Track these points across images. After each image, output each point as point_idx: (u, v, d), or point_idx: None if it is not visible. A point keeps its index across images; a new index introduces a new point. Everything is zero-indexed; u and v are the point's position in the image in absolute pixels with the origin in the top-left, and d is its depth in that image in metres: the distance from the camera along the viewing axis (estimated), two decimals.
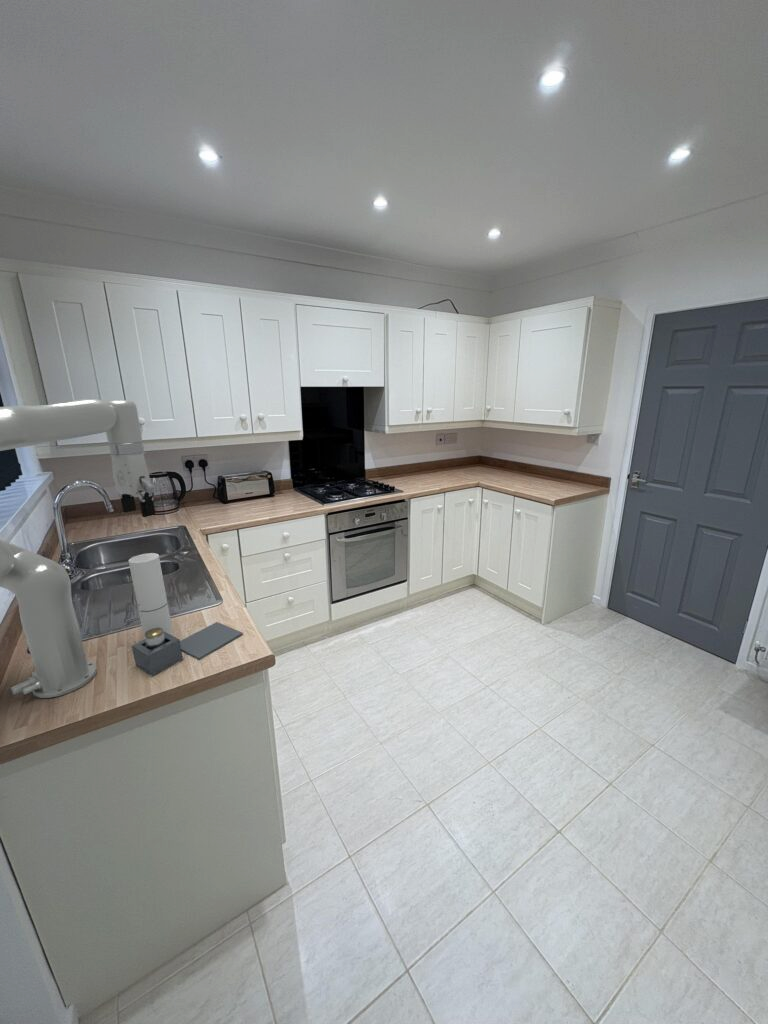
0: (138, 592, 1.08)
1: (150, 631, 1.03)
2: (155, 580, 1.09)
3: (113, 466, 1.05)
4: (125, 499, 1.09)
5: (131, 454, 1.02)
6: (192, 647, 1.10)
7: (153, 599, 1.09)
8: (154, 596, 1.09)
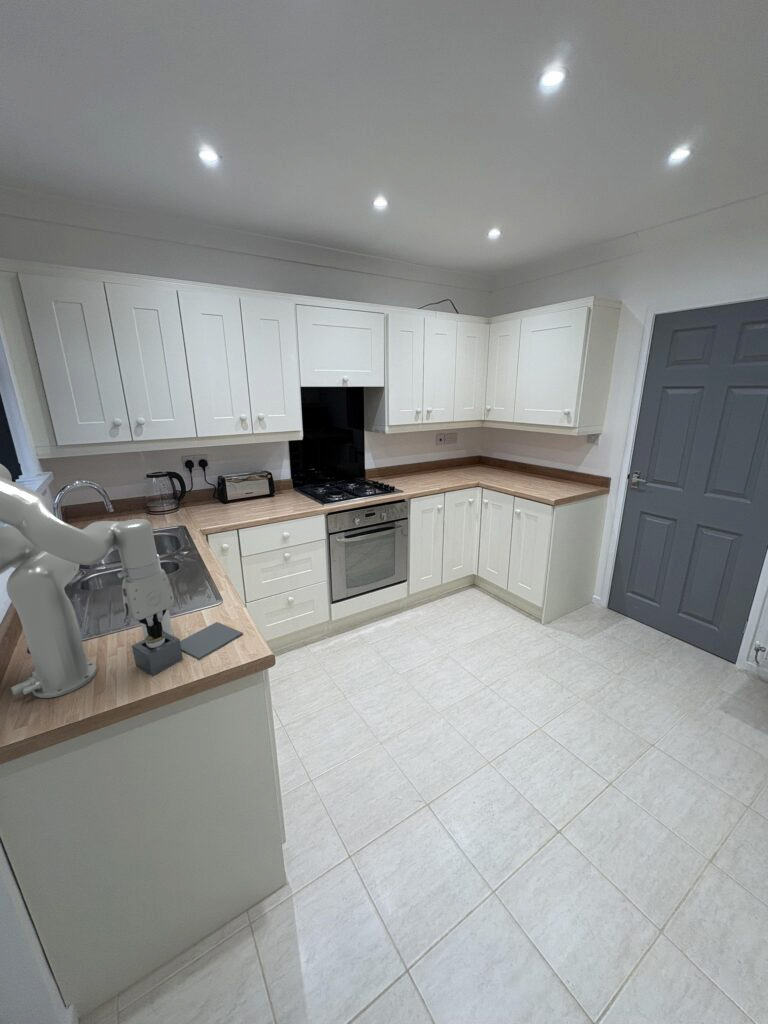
0: None
1: None
2: None
3: (137, 593, 0.95)
4: None
5: (159, 568, 1.01)
6: (192, 647, 1.10)
7: None
8: None
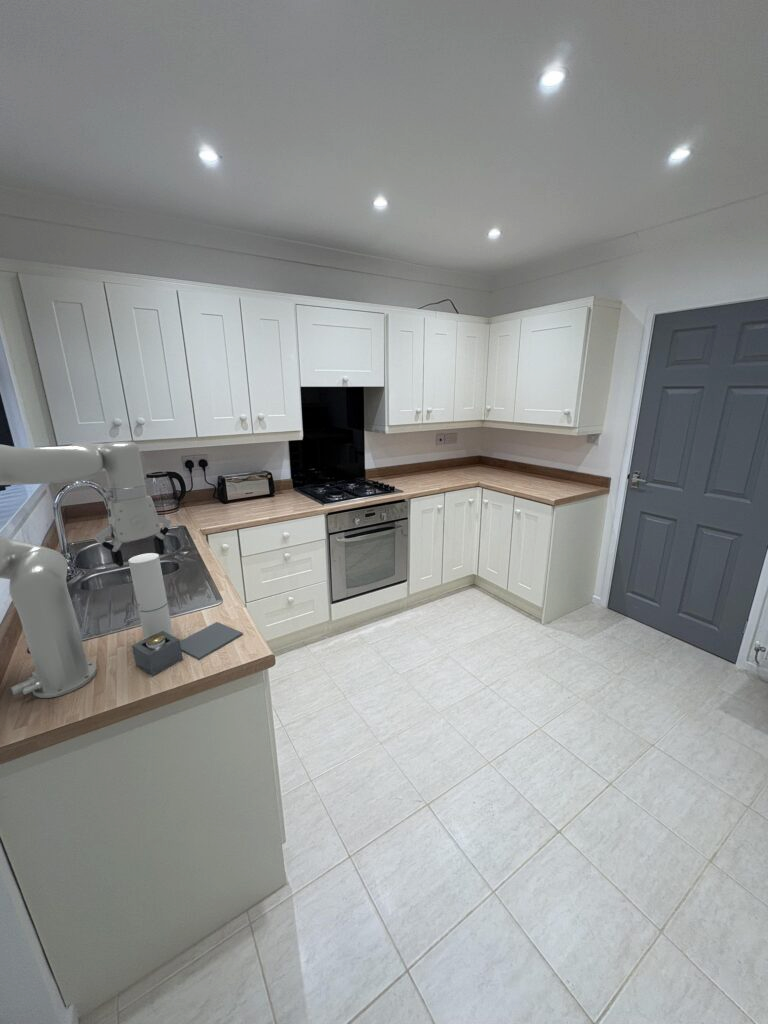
0: (138, 592, 1.08)
1: (151, 637, 1.03)
2: (155, 580, 1.09)
3: (121, 514, 0.95)
4: None
5: (146, 494, 1.01)
6: (192, 647, 1.10)
7: (153, 599, 1.09)
8: (154, 596, 1.09)
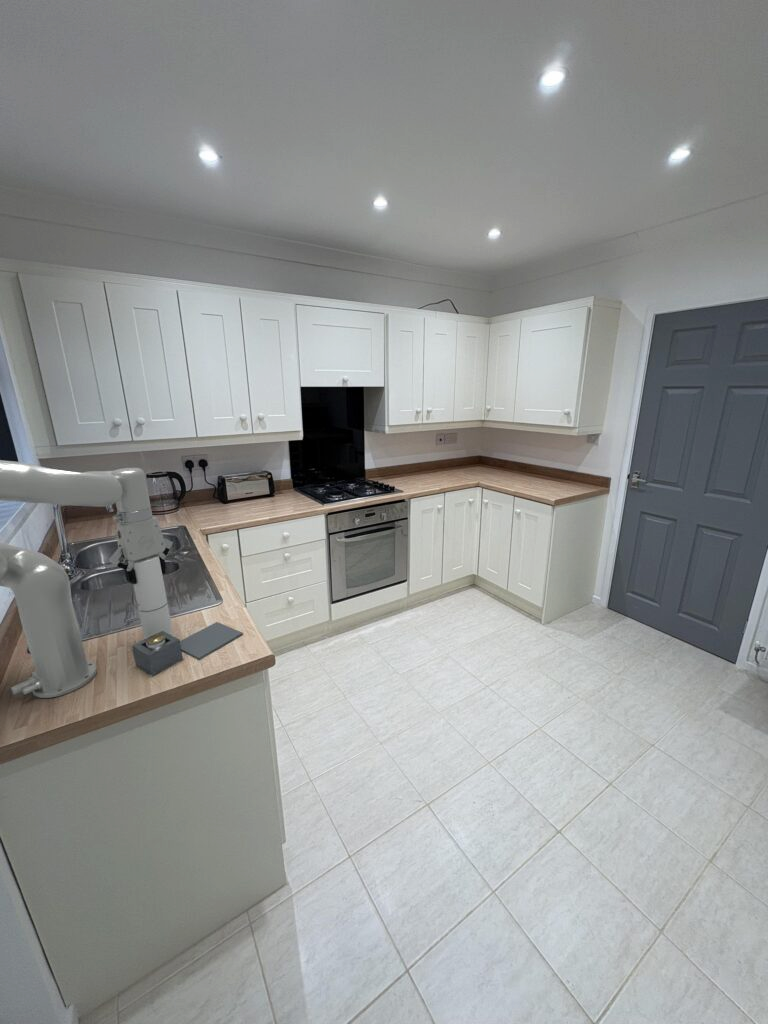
0: (138, 592, 1.08)
1: (151, 637, 1.03)
2: (155, 580, 1.09)
3: (130, 535, 1.03)
4: None
5: None
6: (192, 647, 1.10)
7: (153, 599, 1.09)
8: (154, 596, 1.09)
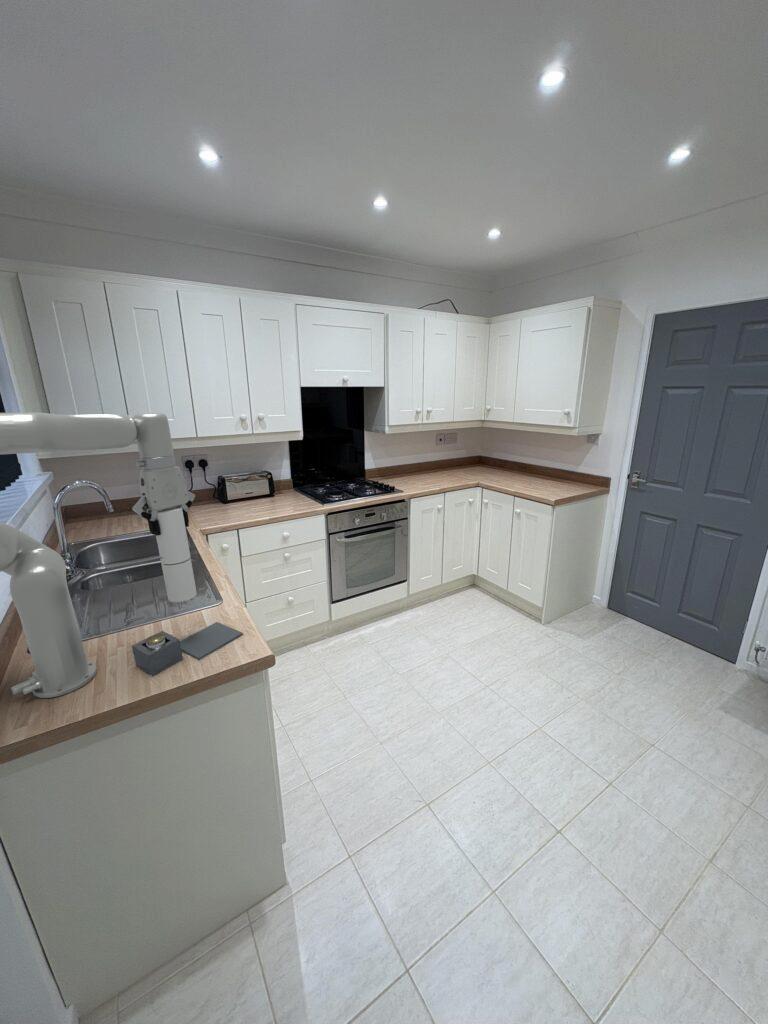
0: (162, 544, 1.04)
1: (151, 637, 1.03)
2: (179, 531, 1.05)
3: (154, 482, 0.99)
4: None
5: None
6: (192, 647, 1.10)
7: (177, 552, 1.05)
8: (178, 549, 1.05)
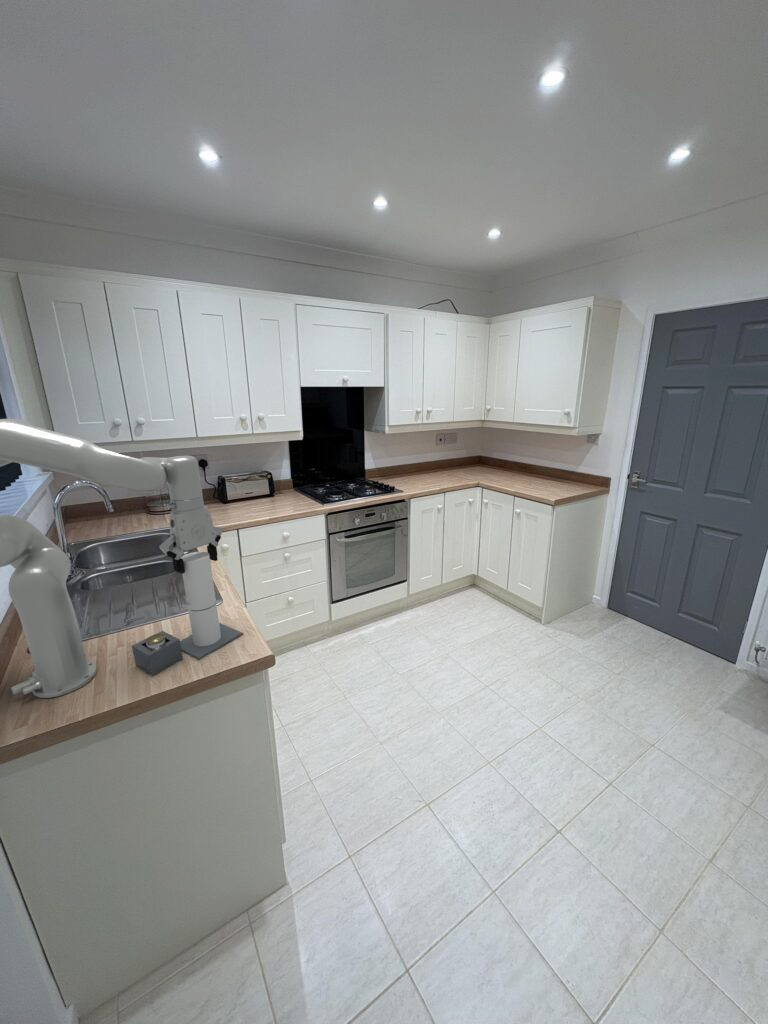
0: (190, 591, 1.06)
1: (151, 637, 1.03)
2: (207, 579, 1.07)
3: (184, 524, 1.01)
4: None
5: None
6: (192, 647, 1.10)
7: (204, 598, 1.08)
8: (205, 595, 1.08)
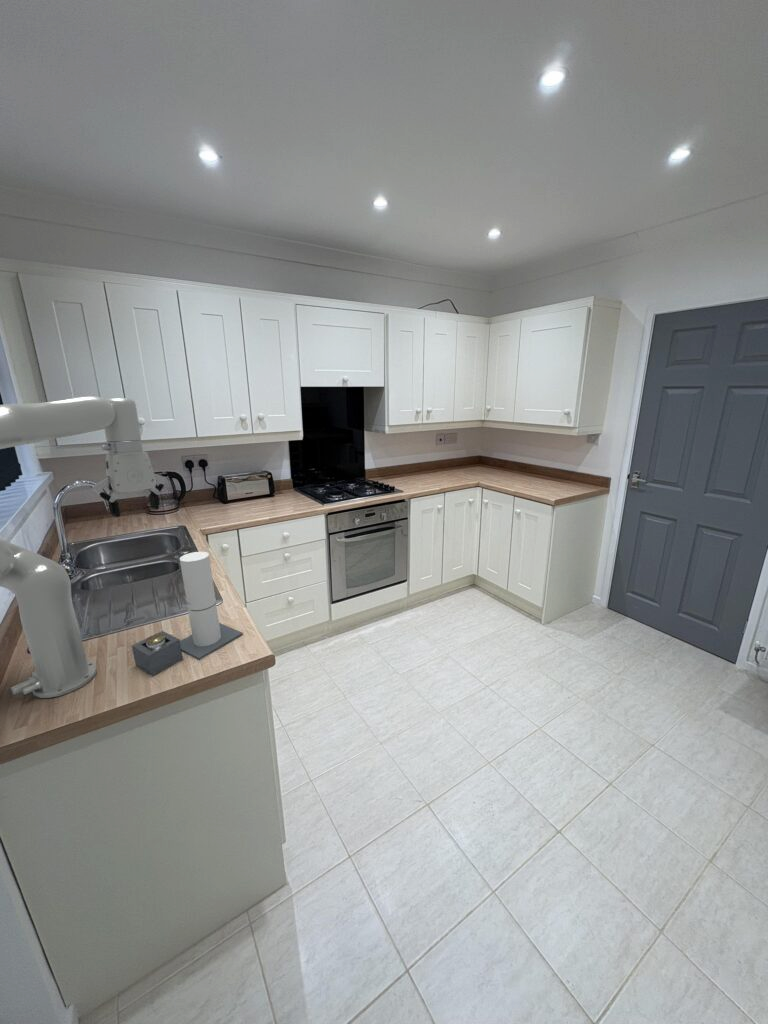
0: (189, 591, 1.06)
1: (151, 637, 1.03)
2: (206, 578, 1.07)
3: (118, 466, 1.00)
4: None
5: (142, 450, 1.06)
6: (192, 647, 1.10)
7: (204, 598, 1.08)
8: (204, 595, 1.08)
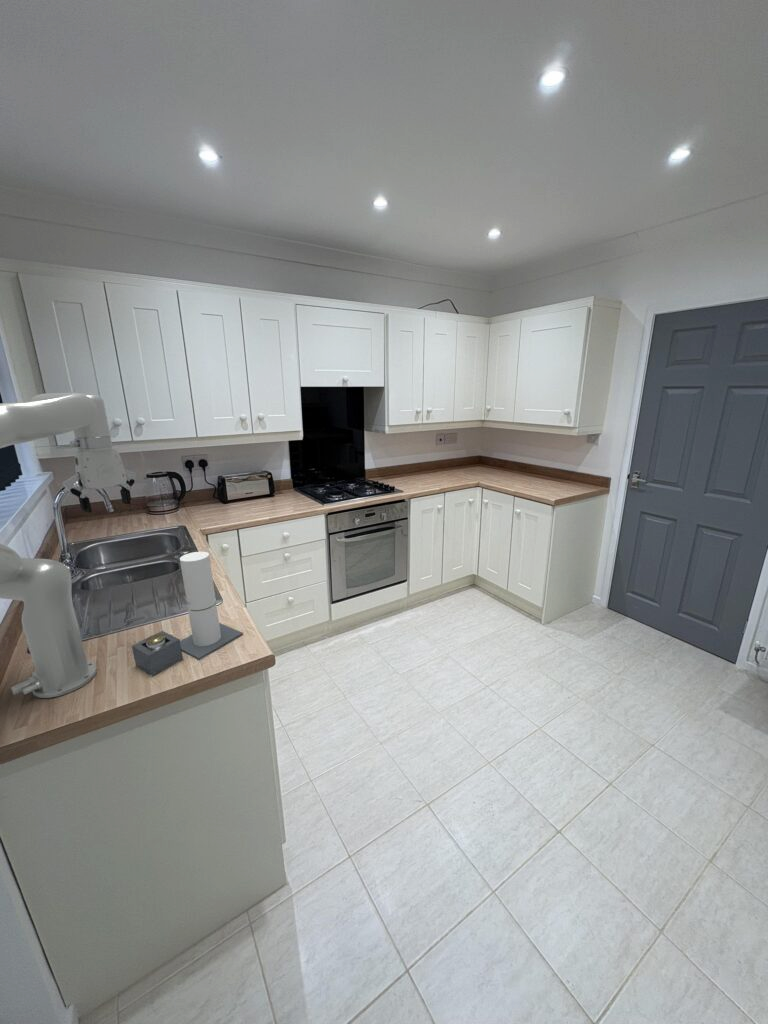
0: (190, 591, 1.06)
1: (151, 637, 1.03)
2: (206, 578, 1.07)
3: (88, 462, 1.02)
4: None
5: (112, 446, 1.07)
6: (192, 647, 1.10)
7: (204, 598, 1.08)
8: (204, 595, 1.08)
